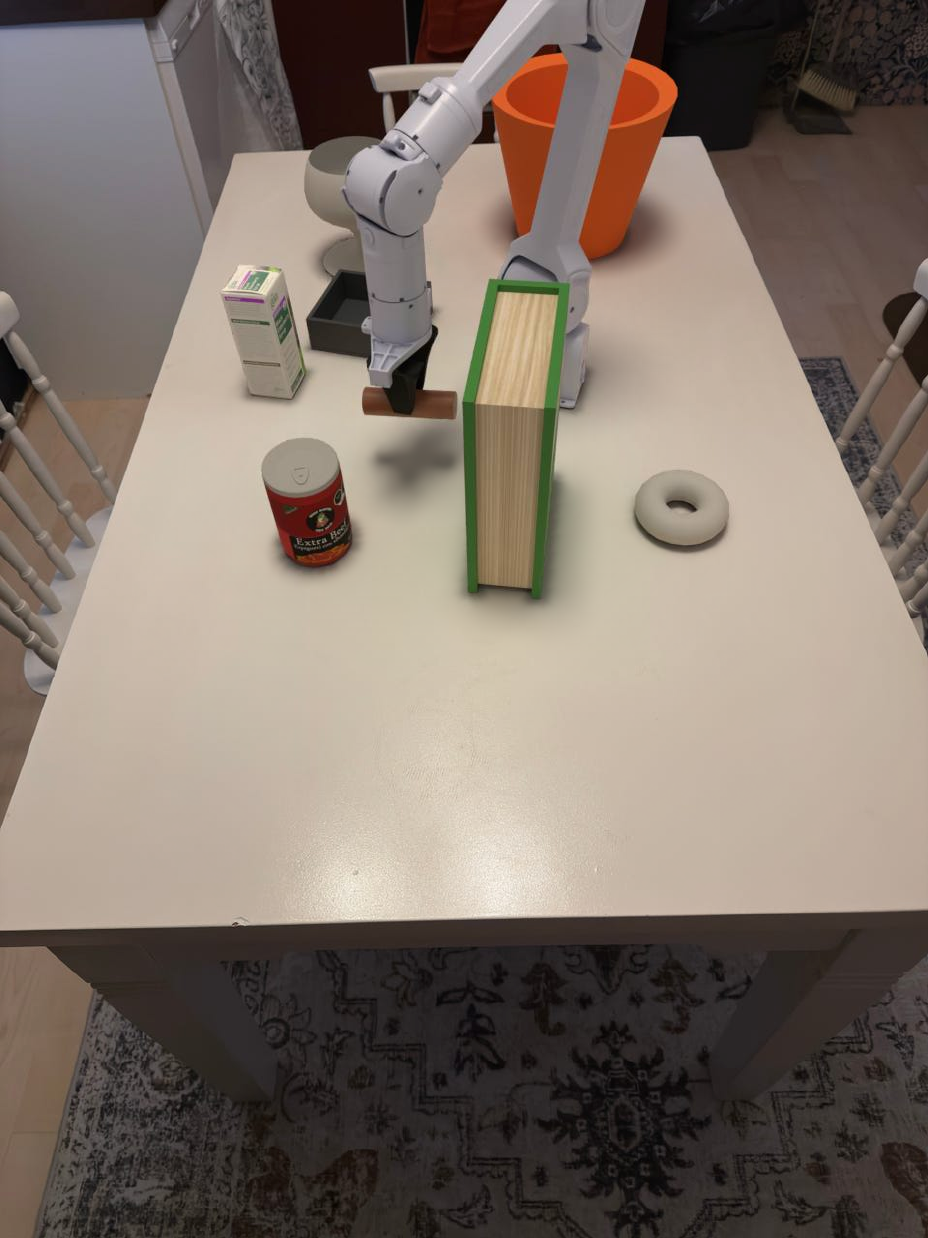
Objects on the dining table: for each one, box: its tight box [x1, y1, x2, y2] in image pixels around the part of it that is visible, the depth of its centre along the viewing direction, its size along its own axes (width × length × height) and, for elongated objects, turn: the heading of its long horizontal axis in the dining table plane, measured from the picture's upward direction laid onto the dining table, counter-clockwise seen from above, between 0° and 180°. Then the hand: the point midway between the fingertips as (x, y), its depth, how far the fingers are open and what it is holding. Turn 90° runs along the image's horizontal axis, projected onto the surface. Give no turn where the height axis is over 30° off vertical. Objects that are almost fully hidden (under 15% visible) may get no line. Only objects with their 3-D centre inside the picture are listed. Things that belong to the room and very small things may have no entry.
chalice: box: [303, 135, 383, 277], centre depth 117 cm, size 14×14×15 cm
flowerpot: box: [490, 52, 679, 261], centre depth 119 cm, size 25×25×20 cm
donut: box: [634, 469, 730, 546], centre depth 89 cm, size 10×4×10 cm
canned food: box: [260, 437, 353, 567], centre depth 85 cm, size 8×8×11 cm
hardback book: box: [461, 278, 570, 600], centre depth 80 cm, size 18×7×24 cm, turn 172°
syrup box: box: [220, 264, 307, 400], centre depth 101 cm, size 6×6×14 cm
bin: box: [305, 269, 434, 359], centre depth 111 cm, size 13×12×4 cm
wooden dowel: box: [361, 386, 459, 421], centre depth 91 cm, size 10×3×3 cm
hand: (408, 401), depth 91 cm, fingers closed on wooden dowel, 3 cm apart
